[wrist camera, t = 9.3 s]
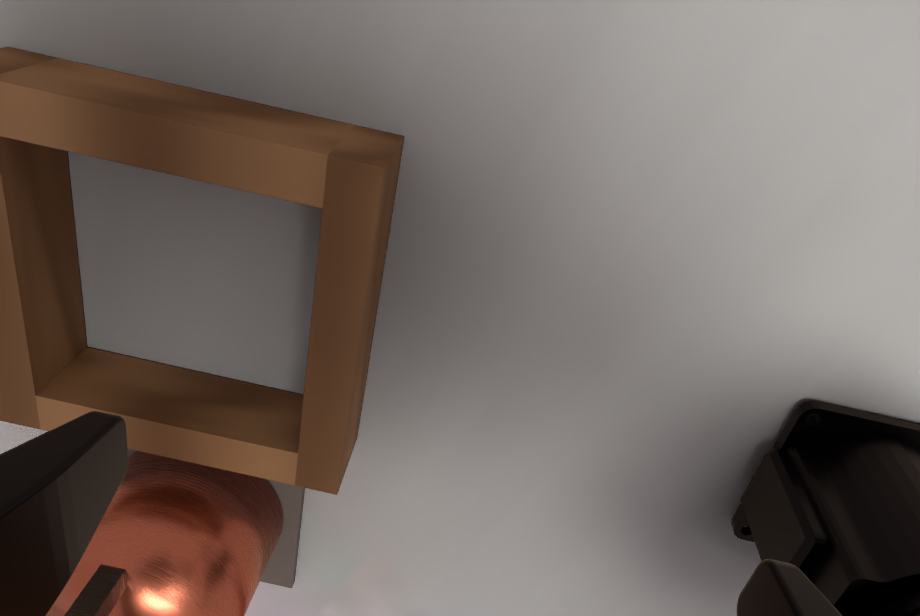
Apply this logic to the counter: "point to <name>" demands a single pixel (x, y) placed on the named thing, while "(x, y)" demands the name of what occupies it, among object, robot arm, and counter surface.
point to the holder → (213, 161)
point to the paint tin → (176, 543)
